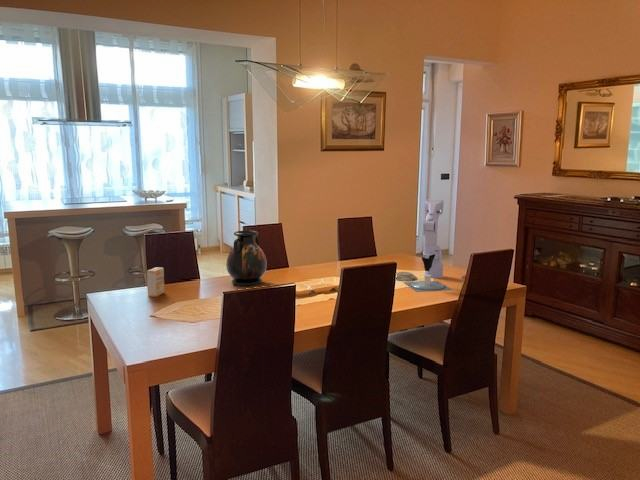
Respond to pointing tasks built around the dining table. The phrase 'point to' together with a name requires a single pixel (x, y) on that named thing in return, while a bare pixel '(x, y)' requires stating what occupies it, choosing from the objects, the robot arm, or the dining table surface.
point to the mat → (427, 290)
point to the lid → (427, 284)
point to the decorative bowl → (406, 276)
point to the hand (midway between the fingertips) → (428, 269)
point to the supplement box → (155, 281)
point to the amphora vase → (246, 260)
